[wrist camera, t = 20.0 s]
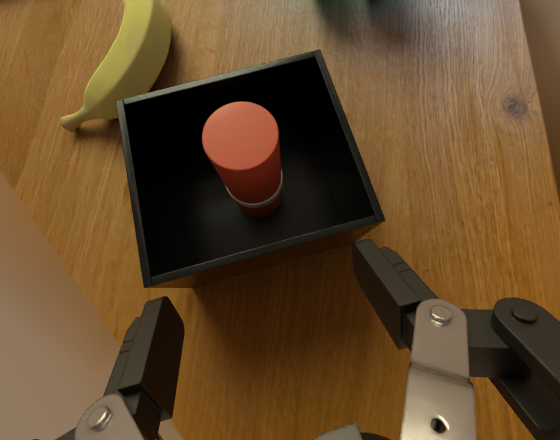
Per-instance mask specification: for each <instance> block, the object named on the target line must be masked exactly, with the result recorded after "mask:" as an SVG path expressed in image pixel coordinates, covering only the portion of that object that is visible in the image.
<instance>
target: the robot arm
mask: <svg viewBox="0 0 560 440" xmlns="http://www.w3.org/2000/svg"><path fill="white" fill-rule="evenodd" d="M352 256H353V266H354V273H355V276H356V279H357V282H358V283H359V285H360V287H361V289H362V290H363V292H364V293H365V295H366V297H367V298H368V300H369V302H370V303H371V305H372V307H373V308H374V310H375V312H376V313H377V315H378V317H379V318H380V320H381V321H382V323H383V325H384V326H385V328H386V330H387V331H388V333H389V335H390V336H391V338H392V340H393V341H394V343H395V345H396V346H397V348H398V349H399V350H400V349H404V348H407V347H408V348H409V350H410V351H411V359H410V364H409V370H408V378H407V386H406V394H405V402H404V410H403V419H402V427H401V435H400V440H477V435H476V416H475V398H474V388H473V384H472V383H471V382H470V379H469V376H471V377H488V378H489V379H490V381H491V382H492V383H493V384H494V386H495V387H496V388H497V390H498V391H499V392H500V394H501V395H502V396H503V398H504V399H505V400H506V401H507V403H508V404H509V405H510V407H511V408H512V409H513V411H514V412H515V413H516V414H517V416H518V417H519V418H520V420H521V421H522V422H523V424H524V425H525V426H526V428H527V429H528V430H529V431H530V433H531V434H532V435H533V437H534V438H535V439H536V440H560V322H559V321H558V320H557V319H556V318H555V317H553V316H552V315H551V314H550V313H549V312H547V311H546V310H545V309H544V308H542V307H541V306H539V305H537V304H535V303H533V302H531V301H528V300H525V299H520V298H504V299H501V300H499V301H497V302H496V304H495V305H494V309H493V310H467V309H460V308H459V307H458V306H456V305H455V304H453V303H451V302H449V301H447V300H443V299H439V298H438V297H437V296H436V295H435V294H434V293H433V292H432V291H431V290H430V289H429V288H428V287H427V285H426V284H425V283H424V282H423V281H422V280H421V279H420V278H419V277H418V275H417V274H416V273H415V272H414V271H413V270H411V268H410V267H409V266H408V264H407V263H405V262H404V260H403V259H402V258H401V257H400V256H399V255H398V253H397V252H395V251H393V250H391V249H389V248H387V247H382V248H378V247H377V246H376V245H375V244H374V242H373V241H372V240H371V239H366V240H362V241H359V242H355V243H352ZM183 340H184V324H183V321H182V319H181V317H180V316H179V314H178V312H177V311H176V309H175V308H174V306H173V304H172V303H171V301H170V299H169V298H168V297H166V296H164V297H161V298H157V299H154V300H150V301H147V302H146V304H145V306H144V309H143V312H142V315H141V317H137V318H136V319H135V320H134V321H133V323H132V324H131V326H130V327H129V328H128V330H127V332H126V335H125V338H124V340H123V345H122V346H121V349H120V351H119V355H118V357H117V360H116V362H115V365H114V368H113V371H112V373H111V376H110V379H109V382H108V385H107V388H106V390H105V393H104V395H103V397H102V398H100V399H99V400H97V401H96V402H94V403H93V404H92V405H91V406H90V407H89V408H88V409H87V410H86V412H85V413H84V414H83V416H82V417H81V419H80V420H79V422H78V424H77V427H75V428H74V429H72V430H70V431H69V432H67V433H66V434H65V435H62V436H61V437H59V438H58V439H56V440H163V439H162V437H161V436H160V434H159V433H158V430H159V425H160V422H161V421H164V420H167V419H171V418H172V415H173V409H174V402H175V395H176V388H177V381H178V374H179V368H180V361H181V354H182V347H183ZM34 440H39V439H34ZM314 440H390V439H388V438H386V437H383V436H380V435H377V434H371V433H361V432H360V431H359V428H358V426H357V423H353V424H350V425H347V426H343V427H340V428H337V429H334V430H331V431H328V432H324V433H322V434H321V435H320V436H318V437H317V438H315V439H314Z"/></svg>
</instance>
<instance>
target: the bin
mask: <svg viewBox="0 0 560 440" xmlns="http://www.w3.org/2000/svg"><path fill="white" fill-rule="evenodd" d="M233 102H251V103H255V104H257V105H260V106H262V107H263V108H265V109H266V110H267V111H268V112H269V113H270V114H271V115H272V116H273V117H274V119H275V121H276V123H277V126H278V130H279V145H280V162H281V170H282V176H283V184H282V201H281V204H280V206H279V207H278V209H277V210H276V211H275V212H274V213H272V214H271V215H269V216H266V217H262V218H255V217H251V216H248V215H246V214H245V213H244V212H242V211H241V209H240V208H239V207H238V205H237V203H236V202H235V200H234V199H233V198H232V197H231V196H230V194H229V192H228V191H227V189H226V186H225V184H224V182H223V181H222V179H221V177H220V176H219V174H218V172H217V171H216V169H215V167H214V166H213V164H212V163H211V161H210V159H209V158H208V156H207V154H206V153H205V150H204V148H203V144H202V133H203V129H204V126H205V123H206V122H207V120H208V118H209V117H210V116H211V115H212V114H213V113H214V112H215V111H216V110H217V109H219V108H221V107H222V106H224V105H227V104H230V103H233ZM116 105H117V111H118V118H119V125H120V131H121V138H122V145H123V151H124V158H125V165H126V171H127V178H128V185H129V191H130V198H131V205H132V212H133V218H134V225H135V232H136V238H137V245H138V252H139V258H140V265H141V272H142V278H143V285H144V288H193V287H197V286H201V285H204V284H208V283H211V282H215V281H218V280H222V279H225V278H229V277H233V276H236V275H240V274H243V273H247V272H250V271H254V270H257V269H261V268H265V267H268V266H272V265H275V264H279V263H282V262H286V261H289V260H293V259H297V258H300V257H304V256H307V255H311V254H314V253H318V252H321V251H325V250H329V249H332V248H336V247H339V246H343V245H346V244H350V243H353V242H355V241H356V240H358V239H359V238H361V237H362V236H364V235H365V234H366V233H368V232H369V231H371V230H372V229H374V228H375V227H377V226H378V225H380V224H381V223H382V222H384V221H385V218H384V215H383V213H382V210H381V207H380V205H379V202H378V199H377V197H376V194H375V192H374V189H373V186H372V184H371V181H370V179H369V176H368V173H367V171H366V168H365V165H364V163H363V160H362V158H361V155H360V152H359V150H358V147H357V145H356V142H355V139H354V137H353V134H352V131H351V129H350V126H349V124H348V121H347V118H346V116H345V113H344V111H343V108H342V105H341V103H340V100H339V97H338V95H337V92H336V90H335V87H334V84H333V82H332V79H331V77H330V74H329V71H328V69H327V66H326V64H325V61H324V58H323V56H322V53H321V50H320V49H319V50H315V51H312V52H308V53H304V54H300V55H296V56H292V57H288V58H284V59H280V60H276V61H272V62H268V63H264V64H260V65H256V66H252V67H248V68H244V69H240V70H236V71H233V72H229V73H225V74H221V75H217V76H213V77H209V78H205V79H201V80H197V81H193V82H189V83H185V84H181V85H177V86H173V87H169V88H165V89H161V90H157V91H153V92H149V93H146V94H142V95H138V96H134V97H130V98H126V99H122V100H118V101H116Z"/></svg>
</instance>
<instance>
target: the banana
mask: <svg viewBox="0 0 560 440" xmlns="http://www.w3.org/2000/svg"><path fill="white" fill-rule="evenodd" d="M123 2H124V16H123V20H122V24H121V27H120V30H119V33H118V35H117V37H116V39H115V41H114V43H113V45H112V47H111V49H110V51H109V52H108V54H107V55H106V57H105V58H104V60H103V61H102V63H101V64H100V66H99V67H98V69H97V70H96V71H95V73H94V74H93V76H92V78H91V79H90V81H89V83H88V85H87V87H86V89H85V92H84V106H83V107H82V108H81V109H80V110H79V111H78V112H76V113H74V114H71V115H68V116H64V117H62V118H61V119H60V122H61V125H62V126H63V127H64V128H65V129H66V130H68V131H70V132H73V131H75V130H76V129H77V127H78V126H79V125H80V124H81V123H83V122H84V121H87V120H91V119H97V118H99V119H116V118H118V111H117V105H116V101H118V100H122V99H126V98H130V97H134V96H138V95H142V94H146V93H148V92H149V90H150V89H151V87H152V86H153V84H154V82H155V81H156V79H157V77H158V75H159V73H160V72H161V70H162V67H163V65H164V63H165V60H166V57H167V55H168V51H169V46H170V40H171V23H170V19H169V15H168V12H167V10H166V8H165V7H164V5H163V4H162V2H161V1H160V0H123Z"/></svg>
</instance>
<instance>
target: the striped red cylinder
mask: <svg viewBox="0 0 560 440" xmlns="http://www.w3.org/2000/svg"><path fill="white" fill-rule="evenodd" d="M202 144H203V148H204V150H205V153H206V154H207V156H208V158H209V159H210V161H211V163H212V164H213V166H214V167H215V169H216V171H217V172H218V174H219V176H220V177H221V179H222V181H223V182H224V184H225V186H226V189H227V191H228V192H229V194H230V196H231V197H232V198H233V199H234V200H235V202H236V203H237V205H238V207H239V208H240V209H241V211H242V212H244V213H245V214H246V215H248V216H251V217H255V218H262V217H266V216H269V215H271V214H272V213H274V212H275V211H276V210H277V209H278V207H279V206H280V204H281V201H282V184H283V176H282V170H281V162H280V145H279V130H278V126H277V123H276V121H275V119H274V117H273V116H272V115H271V114H270V113H269V112H268V111H267V110H266V109H265V108H263V107H262V106H260V105H257V104H255V103H251V102H233V103H230V104H227V105H224V106H222V107H221V108H219V109H217V110H216V111H215V112H214V113H213V114H212V115H211V116H210V117H209V118H208V120H207V122H206V123H205V126H204V129H203V133H202Z"/></svg>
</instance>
